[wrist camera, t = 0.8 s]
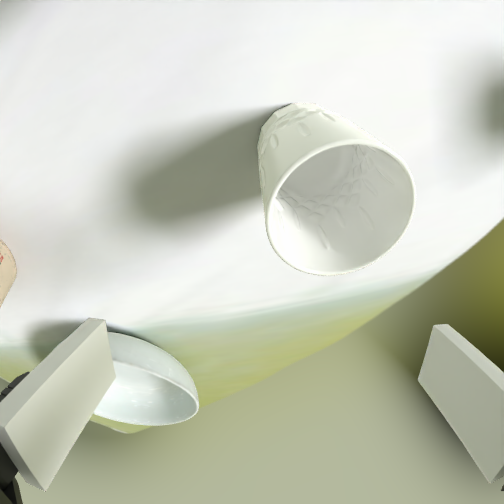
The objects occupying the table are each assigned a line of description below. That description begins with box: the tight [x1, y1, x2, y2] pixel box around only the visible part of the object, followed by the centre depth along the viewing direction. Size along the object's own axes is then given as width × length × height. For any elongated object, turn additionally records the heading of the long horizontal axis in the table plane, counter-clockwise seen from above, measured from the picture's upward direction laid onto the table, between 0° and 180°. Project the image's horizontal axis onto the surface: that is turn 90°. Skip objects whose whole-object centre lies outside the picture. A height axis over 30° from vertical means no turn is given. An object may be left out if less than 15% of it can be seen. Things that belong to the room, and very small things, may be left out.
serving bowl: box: [53, 332, 199, 425], centre depth 36 cm, size 21×21×7 cm
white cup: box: [257, 103, 416, 276], centre depth 18 cm, size 8×8×10 cm
